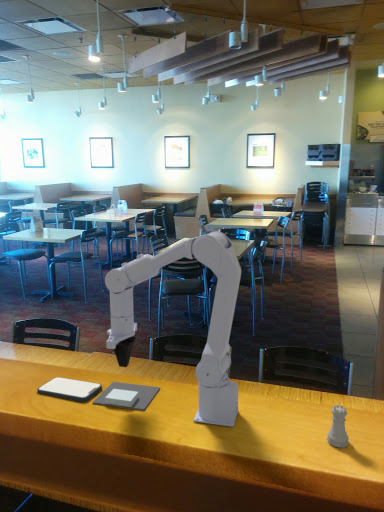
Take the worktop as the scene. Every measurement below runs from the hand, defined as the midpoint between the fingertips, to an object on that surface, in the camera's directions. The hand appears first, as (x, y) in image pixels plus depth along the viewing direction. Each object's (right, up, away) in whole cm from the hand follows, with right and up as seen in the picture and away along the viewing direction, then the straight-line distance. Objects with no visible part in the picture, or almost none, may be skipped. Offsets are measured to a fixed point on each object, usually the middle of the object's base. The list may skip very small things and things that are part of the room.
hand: (123, 365), depth 106 cm
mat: (0, -9, +3) cm, 9 cm away
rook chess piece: (+49, -12, -17) cm, 53 cm away
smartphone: (-16, -9, +7) cm, 19 cm away
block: (0, -8, +2) cm, 8 cm away
